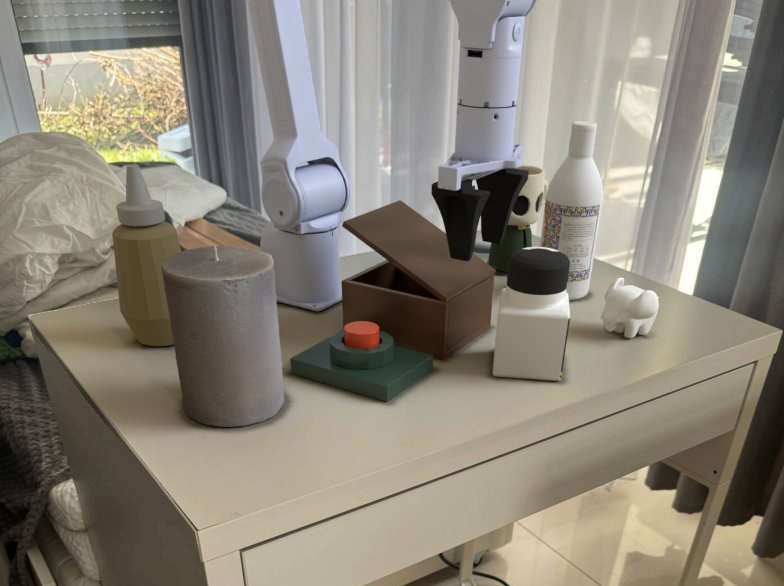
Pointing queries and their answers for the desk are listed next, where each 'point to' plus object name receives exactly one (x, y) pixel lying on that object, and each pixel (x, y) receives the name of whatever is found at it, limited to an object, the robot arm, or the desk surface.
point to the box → (416, 310)
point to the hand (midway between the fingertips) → (476, 250)
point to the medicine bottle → (533, 316)
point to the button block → (363, 366)
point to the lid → (418, 250)
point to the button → (361, 334)
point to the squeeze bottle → (143, 261)
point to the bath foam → (575, 208)
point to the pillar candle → (225, 333)
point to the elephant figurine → (629, 309)
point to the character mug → (521, 218)
